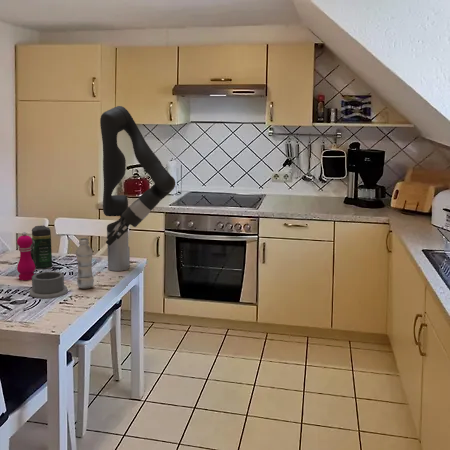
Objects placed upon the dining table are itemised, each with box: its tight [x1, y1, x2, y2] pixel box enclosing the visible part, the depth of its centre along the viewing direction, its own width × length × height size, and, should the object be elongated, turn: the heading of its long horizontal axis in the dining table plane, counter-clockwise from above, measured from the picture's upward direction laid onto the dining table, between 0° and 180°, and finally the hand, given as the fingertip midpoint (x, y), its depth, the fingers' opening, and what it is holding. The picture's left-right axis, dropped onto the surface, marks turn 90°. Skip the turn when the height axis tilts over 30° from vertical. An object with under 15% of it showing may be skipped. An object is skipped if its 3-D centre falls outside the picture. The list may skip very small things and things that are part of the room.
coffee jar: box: [31, 225, 53, 270], centre depth 246 cm, size 10×8×19 cm
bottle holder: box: [28, 271, 68, 299], centre depth 212 cm, size 14×14×7 cm
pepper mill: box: [16, 231, 36, 281], centre depth 228 cm, size 7×7×20 cm
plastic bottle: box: [75, 237, 95, 290], centre depth 217 cm, size 6×7×20 cm
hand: (107, 241), depth 217 cm, fingers open, 8 cm apart
